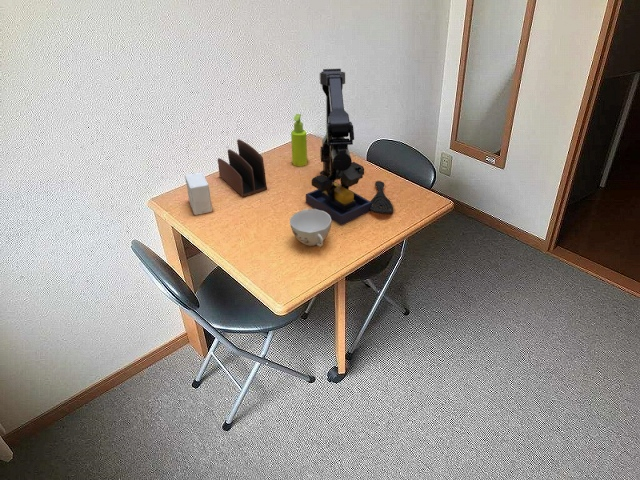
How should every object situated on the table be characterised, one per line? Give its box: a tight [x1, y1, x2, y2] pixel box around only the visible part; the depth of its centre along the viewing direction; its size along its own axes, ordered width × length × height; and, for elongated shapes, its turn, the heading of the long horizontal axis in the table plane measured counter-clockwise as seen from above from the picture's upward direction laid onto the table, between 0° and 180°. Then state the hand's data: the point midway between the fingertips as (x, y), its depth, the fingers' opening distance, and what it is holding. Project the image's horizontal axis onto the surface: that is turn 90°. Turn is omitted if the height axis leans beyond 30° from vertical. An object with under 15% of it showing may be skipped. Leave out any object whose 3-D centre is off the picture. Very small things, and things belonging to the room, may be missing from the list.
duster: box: [322, 181, 356, 211], centre depth 164 cm, size 12×5×5 cm, turn 39°
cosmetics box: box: [184, 171, 213, 216], centre depth 165 cm, size 10×6×10 cm, turn 23°
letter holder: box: [217, 138, 268, 198], centre depth 178 cm, size 10×20×14 cm, turn 34°
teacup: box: [289, 208, 332, 247], centre depth 148 cm, size 15×12×8 cm
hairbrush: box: [369, 180, 394, 215], centre depth 169 cm, size 8×4×25 cm
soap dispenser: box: [290, 113, 308, 167], centre depth 189 cm, size 6×7×20 cm
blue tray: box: [305, 181, 373, 226], centre depth 166 cm, size 19×14×4 cm
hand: (338, 198), depth 165 cm, fingers closed on duster, 5 cm apart
